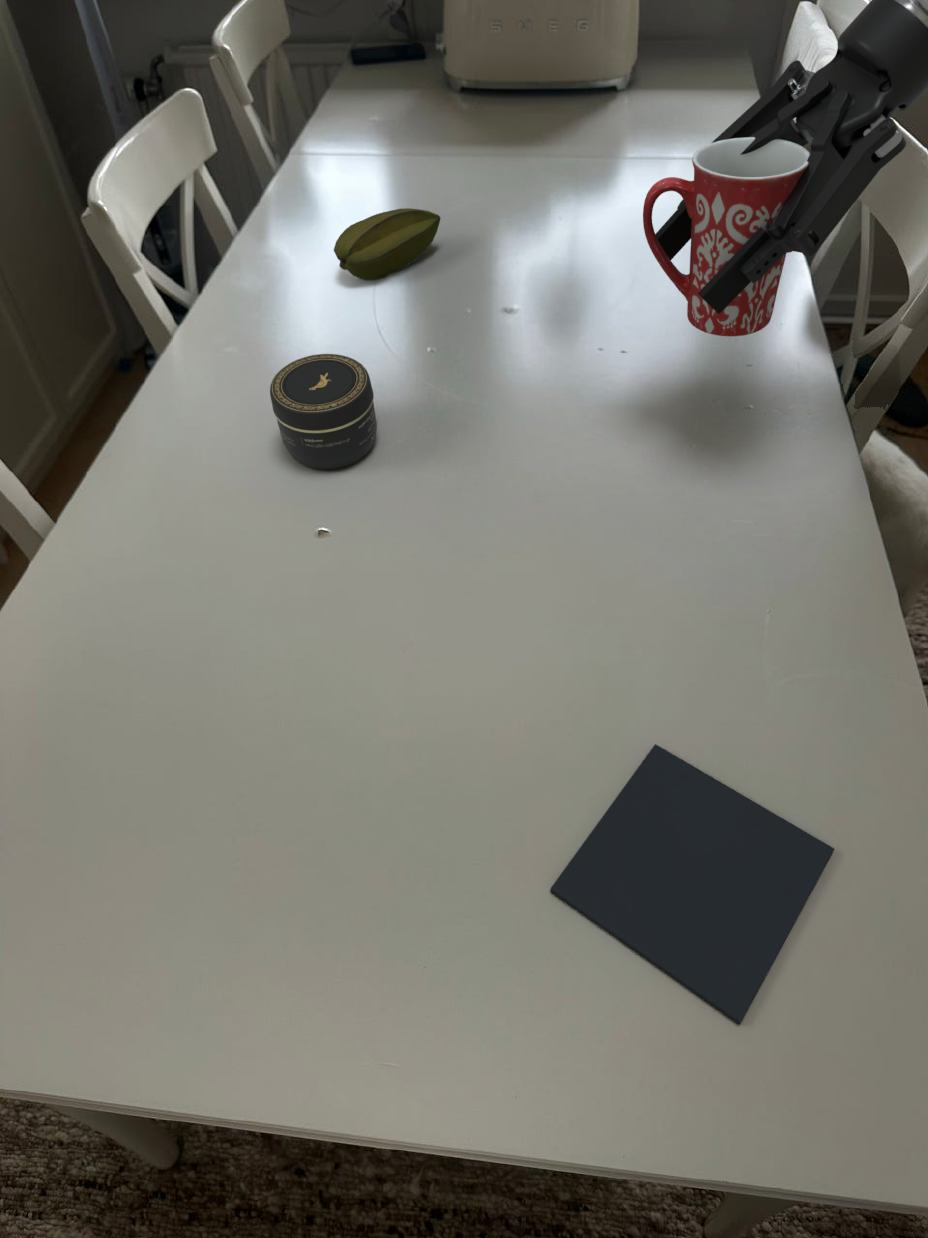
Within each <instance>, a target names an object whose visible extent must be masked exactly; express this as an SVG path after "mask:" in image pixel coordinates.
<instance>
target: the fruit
mask: <svg viewBox="0 0 928 1238" xmlns="http://www.w3.org/2000/svg"><path fill="white" fill-rule="evenodd" d="M440 222H441V216H440V214H437V213H435V212H433V211H429V210H425V209H419V208H408V207H407V208H405V207H404V208H397V209H393V210H387V211H383V212H379V213H375V214H373V215H371V216H369V217H367V218H364V219H362V220H359V221H357V222H355V223H352V224H350V225H349V226H348V227H347V228H345V229H344V231H342V233H341V234H339V236H338V238H337V239H336V241H335V244H334V248H333V252H334V254H335V257H336V259H337V260H338V261H339V268H340V269H341V270H344V271H347V272H349V273H350V274H351V275H352V276H354V277H355V278H358V279H361V280H363V281H375V280H380V279H384V278H387V277H388V276H390V275H393V274H396V273H398V272H400V271H401V270H404V269H405V268H407V266H409V265H410V264H412V263H414V262H415V261H416V260H417V259H419V258H420V257H421V256H422V255H423V254H424V253H425V252H426V250H427V249H428V248H430V246H431V245H432V244H433V242H434V239H435V237H436V235H437V233H438V230H439V226H440Z"/></svg>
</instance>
